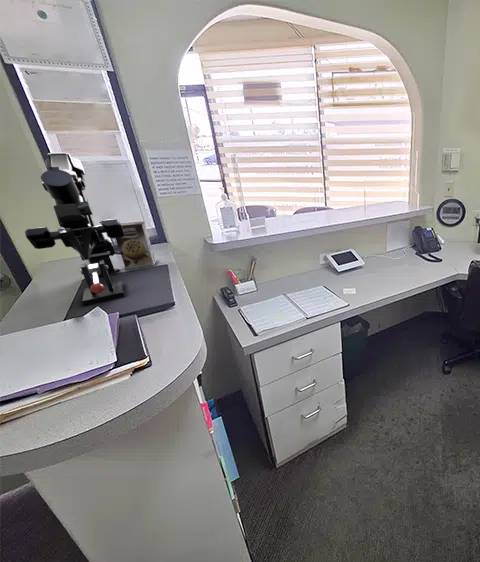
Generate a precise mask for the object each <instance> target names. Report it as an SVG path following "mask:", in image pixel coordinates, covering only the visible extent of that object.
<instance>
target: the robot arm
mask: <svg viewBox="0 0 480 562" xmlns="http://www.w3.org/2000/svg"><path fill="white" fill-rule="evenodd" d="M47 157H48V158H47V159H46V160H45V164H46V168H47V170H46V171H44V172H43V173H42V174H41V175H40V179H41V182H42V183H41V185H42V187H43V189H44V190H45V192H47V193H49V195H50V197H51V198H52V199H53V200H54V203H55V205H53V210H54V213H55V215H56V218H57V222H58V225H59V227H60V228H57V231H50V230H49V228H48V226H40V227H31V228H27V229H26V230H25V231H24V234H25V237H26V239H27V240H28V242H29V243H30V244H31V245H32V246H33V247H34V249H36V250H42V249H50V248H54V246H55V245H56V241H58V240H61V242H62V244H63V245H64V246H65V248H71V249H73V250H75V251H76V253H78V254H79V256H80V258H81V261H88V263H89V265H90V264H96V263H98V265H99V261H102V260H104V263H105V265H107V266H108V269H109V270H107V271H108V273H109V275H111V274H113V273H117V272H120V271H121V270H120V269H119V268H115V267H114V264H113V261H112V260H111V257H112V256H114V255H116V251H115V248H114V246H113V244H112V242H111V241H110V240H109V239H112V240H113V239H115V238H120V237H124V236H125V235H124V232H123V229H122V226H121V224H122V223H121V220H120V219H118V218H110V219H108V218H107V219H101V221H100V222H101V224H99V225H95V223H94V220H93V217H92V215H93V211H92V208H91V206H90V203H89V201H88V200H86V197H85V194H84V191H85V190H86V187H87V184H86V179H85V176H86V172H85V169H84V167H83V164H82V162H81V160H80V159H78V158H76V157H73V156H71V155H70V153H69V152H49V153H47ZM104 234H106V236H107V238H106V237H105V236H104ZM108 238H109V239H108ZM99 267H100V265H99ZM100 270H101V268H100ZM90 275H91V274H90ZM100 277H104V276H103V273H102V271H101V274H100V275H99V278H100Z"/></svg>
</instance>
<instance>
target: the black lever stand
mask: <svg viewBox="0 0 480 562" xmlns="http://www.w3.org/2000/svg"><path fill="white" fill-rule="evenodd" d="M99 265H100V268H101V271H102V273H103V276H102V277H103V278H104V281H105V284H102V285H103V286H104V291H103V292H102V293H99V294H96V293H93V292H92V291H91V290H90V287H91V286H92V285H93V284H94V283H93V276H91V275H90V271H89V269H88V265H87V263H86V262H85V263H81V264H80V270H79V272H80V274H81V275H83V277H84V280H85V282H86V284H87V287H86V288H84V289H83V294H82V298H81V303H82V305H83V306H88V305H89V306H90V305H93V304H97V303H102V302H106V301H110V300H111V301H112V300H114V299H118V298H124V297H125V292H124V285H123V282H122V281H121V280H120V281H115V282H113V281H112V279H111V275H110V274H109V273H108V271H107V270H109V269H108V266H107V265H105V263H104V260H102V261H99Z"/></svg>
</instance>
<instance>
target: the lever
mask: <svg viewBox="0 0 480 562" xmlns="http://www.w3.org/2000/svg"><path fill="white" fill-rule="evenodd" d="M87 267H88V270H89V272H90V274H91V277H92V280H93V283H94V284H93V285H92V286H91V287H90V290H91V291H92V292H93V293H96V294H99V293H102V292H103V291H104V286H103V285H104V284H102V283H101V281H100V276H99V275H100V274H101V270H100V267H99V265H98V263H96V264H90V263H89V264H88V265H87Z"/></svg>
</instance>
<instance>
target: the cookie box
mask: <svg viewBox="0 0 480 562" xmlns="http://www.w3.org/2000/svg"><path fill="white" fill-rule="evenodd" d="M121 226H122V229H123V232H124V235H125V236H124V237H120V238H114V239H115V242H116V244H117V247H118V251H119V253H120V257H121V259H122V262H123V265H124V268H125V270H131V269H132V270H133V269H138V268H145V267H153V266H155V264H156V263H157V260H156V256H155V254H154V249H153V247H152V243H151V241H150V236H149V233H148V230H147V226H146V223H145V221H137V222H136V221H135V222H123V223H121Z"/></svg>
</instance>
